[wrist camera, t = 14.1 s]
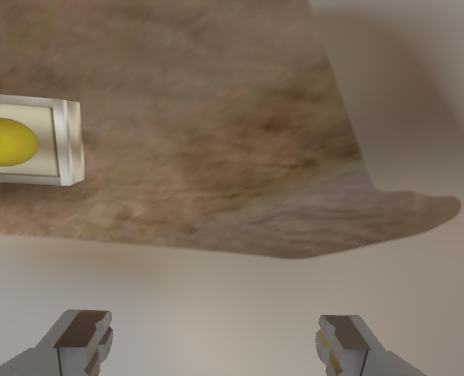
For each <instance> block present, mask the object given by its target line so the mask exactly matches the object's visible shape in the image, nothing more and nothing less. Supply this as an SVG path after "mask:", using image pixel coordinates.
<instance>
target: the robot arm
mask: <svg viewBox="0 0 464 376" xmlns="http://www.w3.org/2000/svg"><path fill="white" fill-rule="evenodd" d="M111 321H112V314H111V312H110V311H98V310H67V311H65V312H64V313H63V314H62V315H61V317H60V318H59V319H58V320H57V321H56V323H55V324H54V325H53V326H52V327H51V329H50V330H49V331H48V332H47V334H46V335H45V336H44V337H43V338H42V340H41V341H40V342H39V343H38V344H37V346H36V347H35V348H29V349H27V350H26V351H24V352H23V353H21V354H19V355H17V356H16V357H14V358H12V359H11V360H9V361H7V362H5V363H4V364H2V365H1V366H0V376H98V375H99V373H100V364H101V363H102V362H103V361H104V360H105V359H106V358H107V356H108V354H109V351H110V348H111V344H112V339H113V338H112V337H113V329H111V327H110V326H109V324H110V323H111ZM319 325H320V327H321V329H320V330H319V331H318V332H317V333H316V349H317V353H318V355H319V358H320V360H321V361H322V362H323V363H324V364H325V365H327V367H326V374H327V376H427V375H426V374H424V373H423V372H421V371H420V370H418V369H417V368H415V367H414V366H412V365H411V364H409V363H408V362H406V361H405V360H403V359H402V358H400V357H399V356H397V355H396V354H394V353H393V352H391V351H386V350H385V348H384V347H383V346H382V344H381V343H380V342H379V340H378V339H377V338H376V336H375V335H374V334H373V332H372V331H371V330H370V328H369V327H368V326H367V324H366V323H365V322H364V320H363V319H362V318H361V317H360V316H358V315H321V317H320V318H319Z"/></svg>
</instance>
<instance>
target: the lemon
mask: <svg viewBox="0 0 464 376" xmlns="http://www.w3.org/2000/svg"><path fill="white" fill-rule="evenodd" d="M37 149H38V140H37V138H36V135H35V134H34V132H33V131H32V130H31V129H30V128H29V127H27V126H26V125H24V124H23V123H21V122H18V121H15V120H12V119H6V118H0V167H10V166H15V165H19V164H22V163H25V162H26V161H28V160H30V159H31V158H32V157H33V156H34V155H35V153H36V151H37Z"/></svg>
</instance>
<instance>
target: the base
mask: <svg viewBox="0 0 464 376" xmlns="http://www.w3.org/2000/svg"><path fill="white" fill-rule="evenodd" d="M0 118H6V119H12V120H15V121H18V122H21V123H23V124H24V125H26V126H27V127H29V128H30V129H31V130H32V131H33V132H34V134H35V135H36V138H37V140H38V149H37V151H36V153H35V155H34V156H33V157H32V158H31V159H30V160H28V161H26V162H25V163H22V164H19V165H15V166H10V167H0V182H8V183H26V184H44V185H61V186H70V185H72V184H75V183H77V182H79V181H82V180H84V179H85V168H84V155H83V143H82V130H81V117H80V105H79V102H74V101H67V100H61V99H49V98H36V97H24V96H12V95H0Z"/></svg>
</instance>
